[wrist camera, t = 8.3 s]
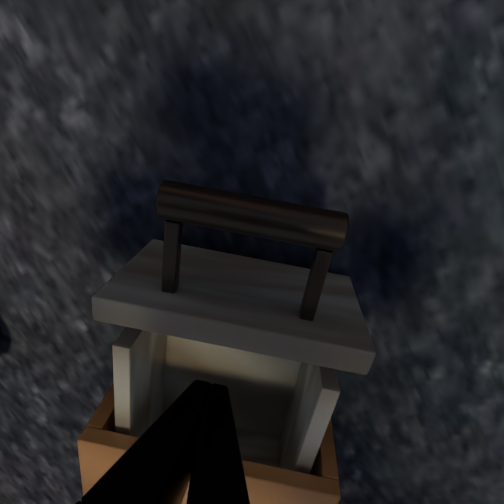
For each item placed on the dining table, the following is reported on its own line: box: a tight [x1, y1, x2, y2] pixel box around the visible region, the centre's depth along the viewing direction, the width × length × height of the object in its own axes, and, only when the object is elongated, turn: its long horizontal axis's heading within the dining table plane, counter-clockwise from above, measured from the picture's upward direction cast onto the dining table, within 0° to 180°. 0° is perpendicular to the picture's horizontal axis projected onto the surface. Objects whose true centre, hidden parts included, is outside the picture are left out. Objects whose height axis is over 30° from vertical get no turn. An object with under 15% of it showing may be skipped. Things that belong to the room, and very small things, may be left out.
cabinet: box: [77, 384, 341, 504], centre depth 22 cm, size 15×13×8 cm
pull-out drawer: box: [92, 180, 376, 474], centre depth 17 cm, size 18×11×6 cm, turn 171°
